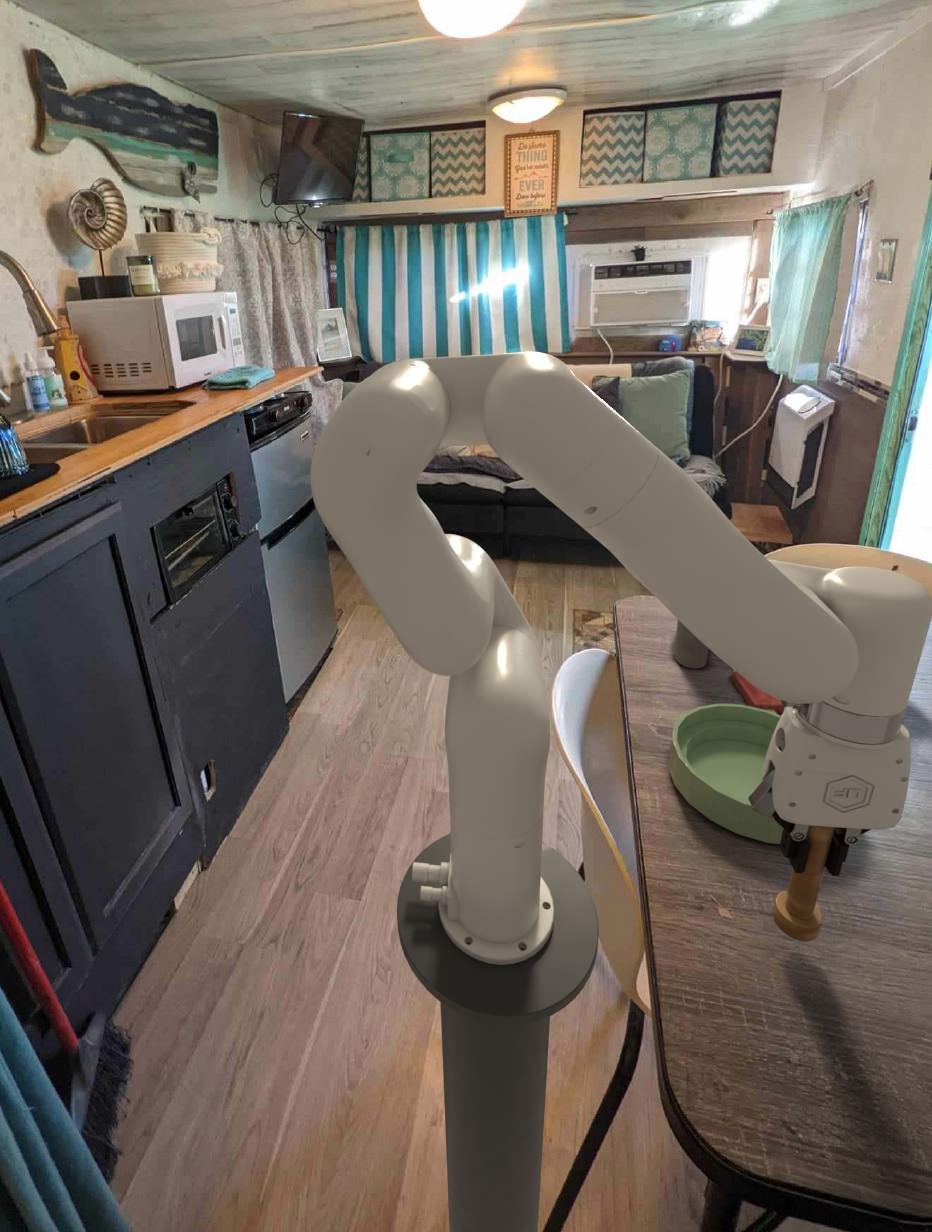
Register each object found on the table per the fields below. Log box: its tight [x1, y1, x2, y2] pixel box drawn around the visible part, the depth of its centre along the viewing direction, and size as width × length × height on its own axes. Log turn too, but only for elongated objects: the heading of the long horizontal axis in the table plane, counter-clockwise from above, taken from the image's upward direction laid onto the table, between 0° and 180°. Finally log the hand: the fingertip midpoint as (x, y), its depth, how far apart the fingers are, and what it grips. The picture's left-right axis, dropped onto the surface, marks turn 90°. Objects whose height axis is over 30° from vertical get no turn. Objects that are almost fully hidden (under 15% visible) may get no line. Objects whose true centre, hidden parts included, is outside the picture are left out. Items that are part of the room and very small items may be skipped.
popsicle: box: [732, 670, 786, 714], centre depth 100 cm, size 4×2×15 cm
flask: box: [673, 619, 709, 669], centre depth 112 cm, size 15×6×20 cm, turn 148°
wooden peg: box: [772, 825, 835, 942], centre depth 61 cm, size 4×4×14 cm
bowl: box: [667, 703, 783, 845], centre depth 84 cm, size 20×20×6 cm
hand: (810, 860), depth 61 cm, fingers closed on wooden peg, 2 cm apart
